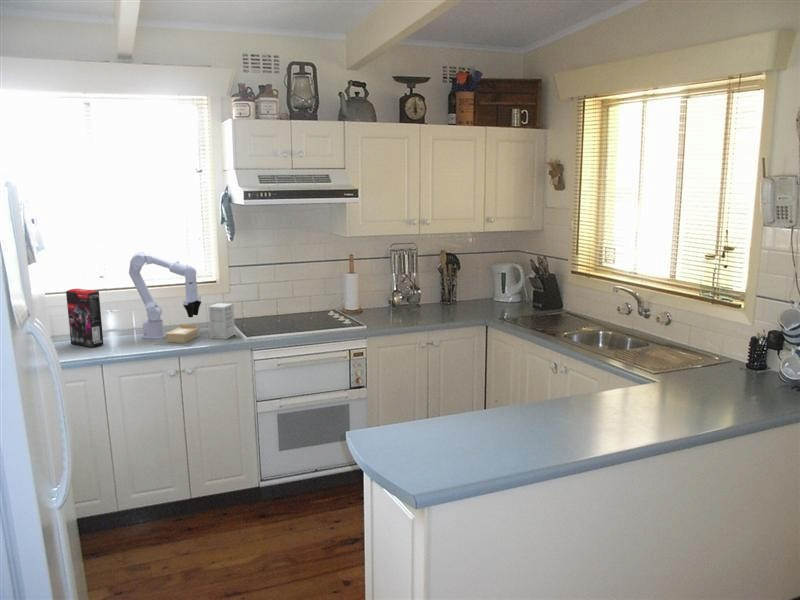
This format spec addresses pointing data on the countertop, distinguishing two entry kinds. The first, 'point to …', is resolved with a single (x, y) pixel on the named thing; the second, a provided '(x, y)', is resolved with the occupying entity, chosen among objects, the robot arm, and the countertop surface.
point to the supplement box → (221, 320)
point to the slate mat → (189, 343)
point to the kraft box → (181, 338)
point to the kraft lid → (183, 330)
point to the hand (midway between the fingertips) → (193, 316)
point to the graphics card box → (84, 317)
